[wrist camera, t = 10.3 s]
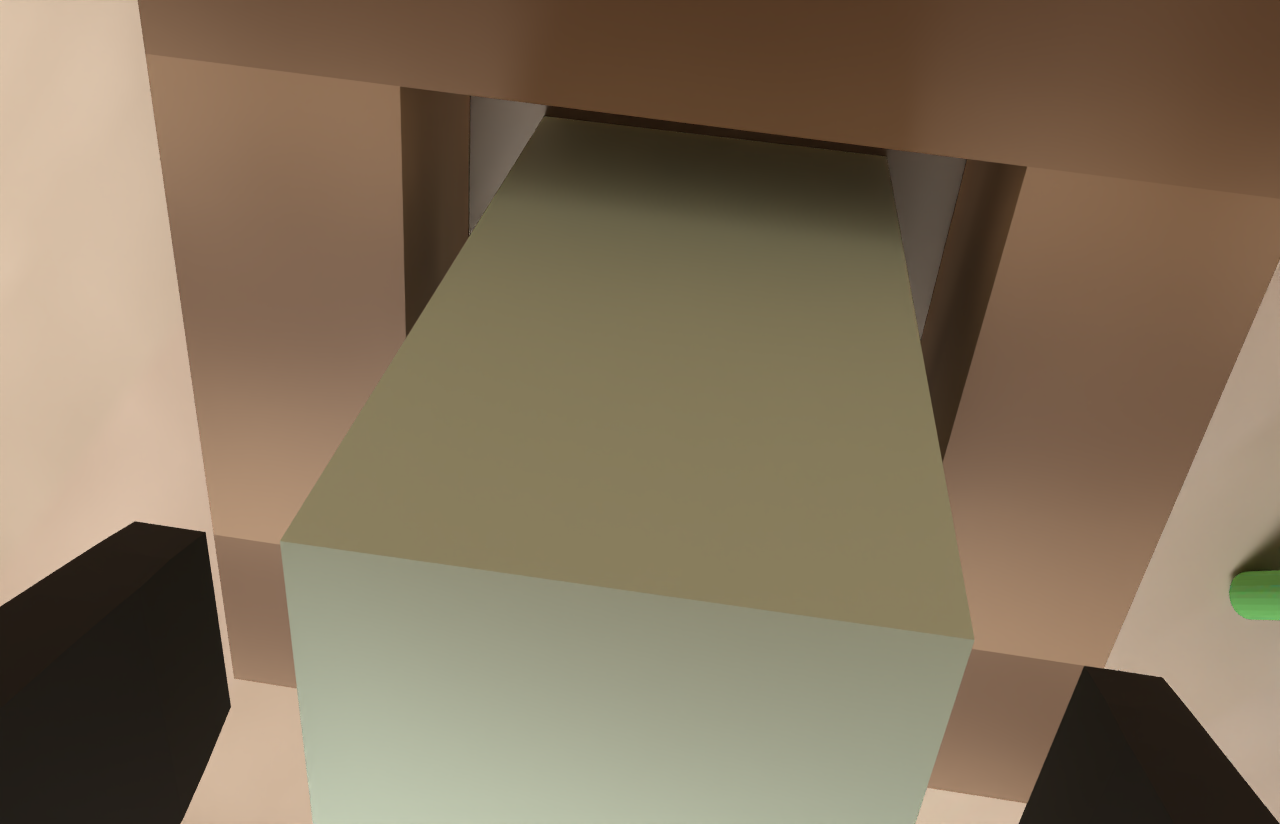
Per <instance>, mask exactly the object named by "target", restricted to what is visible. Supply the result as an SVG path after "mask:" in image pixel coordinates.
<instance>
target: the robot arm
mask: <svg viewBox="0 0 1280 824" xmlns="http://www.w3.org/2000/svg"><path fill="white" fill-rule="evenodd" d="M230 708H231V705H230V698H229V691H228V684H227V677H226V670H225V663H224V656H223V649H222V642H221V636H220V629H219V622H218V615H217V608H216V601H215V594H214V587H213V580H212V573H211V567H210V560H209V553H208V546H207V539H206V532H201V531H194V530H188V529H181V528H175V527H168V526H161V525H155V524H148V523H142V522H133V523H132V524H130V525H128V526H127V527H125V528H123V529H122V530H120V531H118V532H116V533H115V534H113V535H111V536H110V537H108V538H107V539H105V540H103V541H102V542H100V543H99V544H97V545H95V546H94V547H92V548H91V549H89V550H87V551H86V552H84V553H83V554H81V555H80V556H78V557H76V558H75V559H73V560H72V561H70V562H69V563H67V564H66V565H64V566H62V567H61V568H59V569H58V570H56V571H55V572H53V573H52V574H50V575H49V576H47V577H45V578H44V579H42V580H41V581H39V582H38V583H36V584H35V585H33V586H32V587H30V588H28V589H27V590H25V591H24V592H22V593H21V594H19V595H18V596H16V597H15V598H13V599H11V600H10V601H8V602H7V603H5V604H4V605H2V606H1V607H0V824H180V823H181V821H182V820H183V818H184V816H185V813H186V811H187V809H188V807H189V804H190V802H191V800H192V797H193V795H194V793H195V791H196V788H197V786H198V784H199V782H200V779H201V777H202V775H203V773H204V770H205V768H206V766H207V763H208V761H209V759H210V756H211V754H212V751H213V749H214V746H215V744H216V742H217V739H218V737H219V734H220V732H221V729H222V727H223V725H224V722H225V720H226V717H227V715H228V712H229V710H230ZM1019 824H1279V822H1278V821H1277V820H1276V819H1275V817H1274V816H1273V815H1272V814H1271V812H1270V811H1269V810H1268V809H1267V807H1266V806H1265V805H1264V804H1263V802H1262V801H1261V800H1260V799H1259V797H1258V796H1257V795H1256V794H1255V792H1254V791H1253V790H1252V789H1251V787H1250V786H1249V785H1248V784H1247V782H1246V781H1245V780H1244V779H1243V777H1242V776H1241V775H1240V774H1239V772H1238V771H1237V770H1236V768H1235V767H1234V766H1233V765H1232V763H1231V762H1230V761H1229V760H1228V758H1227V757H1226V756H1225V755H1224V753H1223V752H1222V751H1221V750H1220V748H1219V747H1218V746H1217V744H1216V743H1215V742H1214V741H1213V739H1212V738H1211V737H1210V736H1209V734H1208V733H1207V732H1206V731H1205V729H1204V728H1203V727H1202V726H1201V724H1200V723H1199V722H1198V720H1197V719H1196V718H1195V717H1194V715H1193V714H1192V713H1191V712H1190V710H1189V709H1188V708H1187V707H1186V705H1185V704H1184V703H1183V702H1182V701H1181V699H1180V698H1179V697H1178V696H1177V694H1176V693H1175V692H1174V691H1173V690H1172V688H1171V687H1170V686H1169V685H1168V684H1167V682H1166V681H1165V680H1164V679H1163V678H1162V677H1156V676H1149V675H1142V674H1136V673H1129V672H1123V671H1116V670H1109V669H1103V668H1096V667H1090V666H1084V668H1083V670H1082V672H1081V675H1080V677H1079V680H1078V682H1077V684H1076V687H1075V689H1074V692H1073V694H1072V697H1071V699H1070V701H1069V704H1068V706H1067V709H1066V711H1065V713H1064V716H1063V718H1062V721H1061V723H1060V725H1059V728H1058V730H1057V733H1056V735H1055V738H1054V740H1053V742H1052V745H1051V747H1050V750H1049V752H1048V754H1047V757H1046V759H1045V762H1044V764H1043V766H1042V769H1041V771H1040V774H1039V776H1038V779H1037V781H1036V783H1035V786H1034V788H1033V791H1032V793H1031V795H1030V798H1029V800H1028V803H1027V805H1026V807H1025V810H1024V812H1023V815H1022V817H1021V820H1020V822H1019Z"/></svg>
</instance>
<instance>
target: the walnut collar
mask: <svg viewBox="0 0 1280 824" xmlns="http://www.w3.org/2000/svg"><path fill="white" fill-rule="evenodd" d="M138 5H139V12H140V19H141V26H142V33H143V40H144V47H145V54H146V61H147V68H148V75H149V83H150V90H151V97H152V104H153V111H154V118H155V125H156V132H157V139H158V146H159V153H160V160H161V167H162V174H163V181H164V188H165V195H166V202H167V209H168V216H169V223H170V230H171V237H172V244H173V251H174V258H175V265H176V272H177V279H178V286H179V293H180V301H181V308H182V315H183V322H184V329H185V336H186V343H187V350H188V357H189V364H190V371H191V378H192V385H193V392H194V399H195V406H196V413H197V420H198V427H199V434H200V441H201V448H202V455H203V462H204V469H205V476H206V483H207V490H208V497H209V504H210V511H211V519H212V526H213V533H214V540H215V547H216V554H217V561H218V568H219V575H220V582H221V589H222V596H223V603H224V610H225V617H226V624H227V631H228V638H229V645H230V652H231V659H232V666H233V673H234V679H241V680H247V681H253V682H260V683H266V684H272V685H279V686H285V687H291V688H297V684H296V675H295V666H294V658H293V649H292V641H291V632H290V624H289V615H288V607H287V598H286V589H285V581H284V572H283V564H282V555H281V547H280V540H281V538H282V537H283V535H284V534H285V532H286V530H287V529H288V527H289V526H290V524H291V522H292V521H293V519H294V518H295V516H296V514H297V513H298V511H299V510H300V508H301V506H302V505H303V503H304V501H305V500H306V498H307V497H308V495H309V493H310V492H311V490H312V489H313V487H314V485H315V484H316V482H317V481H318V479H319V477H320V476H321V474H322V473H323V471H324V469H325V468H326V466H327V464H328V463H329V461H330V460H331V458H332V456H333V455H334V453H335V452H336V450H337V448H338V447H339V445H340V444H341V442H342V440H343V439H344V437H345V436H346V434H347V432H348V431H349V429H350V427H351V426H352V424H353V423H354V421H355V419H356V418H357V416H358V415H359V413H360V411H361V410H362V408H363V407H364V405H365V403H366V402H367V400H368V399H369V397H370V395H371V394H372V392H373V391H374V389H375V387H376V386H377V384H378V382H379V381H380V379H381V378H382V376H383V374H384V373H385V371H386V370H387V368H388V366H389V365H390V363H391V362H392V360H393V358H394V357H395V355H396V354H397V352H398V350H399V349H400V347H401V345H402V344H403V342H404V341H405V339H406V337H407V336H408V334H409V333H410V331H411V329H412V328H413V326H414V325H415V323H416V321H417V320H418V318H419V317H420V315H421V313H422V312H423V310H424V309H425V307H426V305H427V304H428V302H429V300H430V299H431V297H432V296H433V294H434V292H435V291H436V289H437V288H438V286H439V284H440V283H441V281H442V280H443V278H444V276H445V275H446V273H447V272H448V270H449V268H450V267H451V265H452V263H453V262H454V260H455V259H456V257H457V255H458V254H459V252H460V251H461V249H462V247H463V246H464V244H465V243H466V241H467V239H468V225H469V123H470V95H471V96H479V97H487V98H495V99H502V100H510V101H518V102H526V103H534V104H542V105H549V106H557V107H565V108H573V109H581V110H588V111H596V112H604V113H612V114H620V115H628V116H635V117H643V118H651V119H659V120H667V121H674V122H682V123H690V124H698V125H706V126H714V127H721V128H729V129H737V130H745V131H753V132H761V133H768V134H776V135H784V136H792V137H800V138H807V139H815V140H823V141H831V142H839V143H847V144H854V145H862V146H870V147H878V148H886V149H893V150H901V151H909V152H917V153H925V154H933V155H940V156H948V157H956V158H964V159H967V163H966V167H965V170H964V174H963V178H962V182H961V186H960V190H959V194H958V198H957V202H956V206H955V210H954V214H953V218H952V221H951V225H950V229H949V233H948V237H947V241H946V245H945V249H944V253H943V257H942V261H941V265H940V268H939V272H938V276H937V280H936V284H935V288H934V292H933V296H932V300H931V304H930V308H929V312H928V315H927V319H926V323H925V327H924V331H923V335H922V339H921V348H922V354H923V359H924V365H925V370H926V376H927V381H928V387H929V392H930V398H931V403H932V409H933V414H934V420H935V425H936V431H937V436H938V442H939V447H940V453H941V458H942V464H943V469H944V475H945V480H946V486H947V491H948V497H949V502H950V508H951V513H952V518H953V524H954V529H955V535H956V540H957V546H958V551H959V557H960V562H961V568H962V573H963V579H964V584H965V590H966V595H967V601H968V606H969V612H970V617H971V623H972V628H973V634H974V639H975V640H974V643H973V647H972V650H971V653H970V656H969V659H968V662H967V665H966V668H965V671H964V674H963V677H962V681H961V684H960V687H959V690H958V693H957V696H956V699H955V702H954V705H953V708H952V711H951V715H950V718H949V721H948V724H947V727H946V730H945V733H944V736H943V739H942V742H941V745H940V748H939V752H938V755H937V758H936V761H935V764H934V767H933V770H932V773H931V776H930V779H929V782H928V786H927V788H933V789H939V790H946V791H952V792H958V793H965V794H971V795H977V796H984V797H990V798H997V799H1003V800H1009V801H1016V802H1022V803H1028V800H1029V798H1030V795H1031V793H1032V791H1033V788H1034V786H1035V783H1036V781H1037V779H1038V776H1039V774H1040V771H1041V769H1042V766H1043V764H1044V762H1045V759H1046V757H1047V754H1048V752H1049V750H1050V747H1051V745H1052V742H1053V740H1054V738H1055V735H1056V733H1057V730H1058V728H1059V725H1060V723H1061V721H1062V718H1063V716H1064V713H1065V711H1066V709H1067V706H1068V704H1069V701H1070V699H1071V697H1072V694H1073V692H1074V689H1075V687H1076V684H1077V682H1078V680H1079V677H1080V675H1081V672H1082V670H1083V668H1084V666H1090V667H1096V668H1103V669H1104V666H1105V664H1106V662H1107V659H1108V657H1109V655H1110V652H1111V650H1112V648H1113V645H1114V643H1115V641H1116V638H1117V636H1118V634H1119V632H1120V629H1121V627H1122V625H1123V622H1124V620H1125V618H1126V615H1127V613H1128V611H1129V608H1130V606H1131V604H1132V601H1133V599H1134V597H1135V594H1136V592H1137V590H1138V587H1139V585H1140V583H1141V580H1142V578H1143V576H1144V573H1145V571H1146V569H1147V566H1148V564H1149V562H1150V559H1151V557H1152V555H1153V552H1154V550H1155V548H1156V546H1157V543H1158V541H1159V539H1160V536H1161V534H1162V532H1163V529H1164V527H1165V525H1166V522H1167V520H1168V518H1169V515H1170V513H1171V511H1172V508H1173V506H1174V504H1175V501H1176V499H1177V497H1178V494H1179V492H1180V490H1181V487H1182V485H1183V483H1184V480H1185V478H1186V476H1187V473H1188V471H1189V469H1190V466H1191V464H1192V462H1193V459H1194V457H1195V455H1196V453H1197V450H1198V448H1199V446H1200V443H1201V441H1202V439H1203V436H1204V434H1205V432H1206V429H1207V427H1208V425H1209V422H1210V420H1211V418H1212V415H1213V413H1214V411H1215V408H1216V406H1217V404H1218V401H1219V399H1220V397H1221V394H1222V392H1223V390H1224V387H1225V385H1226V383H1227V380H1228V378H1229V376H1230V373H1231V371H1232V369H1233V367H1234V364H1235V362H1236V360H1237V357H1238V355H1239V353H1240V350H1241V348H1242V346H1243V343H1244V341H1245V339H1246V336H1247V334H1248V332H1249V329H1250V327H1251V325H1252V322H1253V320H1254V318H1255V315H1256V313H1257V311H1258V308H1259V306H1260V304H1261V301H1262V299H1263V297H1264V294H1265V292H1266V290H1267V287H1268V285H1269V283H1270V281H1271V278H1272V276H1273V274H1274V271H1275V269H1276V267H1277V264H1278V262H1279V260H1280V0H138Z"/></svg>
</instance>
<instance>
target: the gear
mask: <svg viewBox="0 0 1280 824" xmlns="http://www.w3.org/2000/svg"><path fill="white" fill-rule="evenodd" d="M1229 596H1230V601H1231V604H1232V606H1233V608H1234V610H1235V611H1236V612H1237V613H1238V614H1239V615H1240V616H1242V617H1243V618H1246V619H1250V620H1280V570H1272V571H1246V572H1242V573H1239V574H1238V575H1237V576H1235V578H1234V579H1233V580H1232V583H1231V585H1230V590H1229Z"/></svg>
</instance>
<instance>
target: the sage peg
mask: <svg viewBox="0 0 1280 824" xmlns="http://www.w3.org/2000/svg"><path fill="white" fill-rule="evenodd" d="M280 547H281V555H282V564H283V572H284V581H285V589H286V598H287V607H288V615H289V624H290V632H291V641H292V649H293V658H294V666H295V675H296V684H297V692H298V701H299V709H300V718H301V726H302V735H303V744H304V752H305V761H306V769H307V778H308V786H309V795H310V803H311V812H312V821H313V824H915V823H916V820H917V816H918V813H919V810H920V807H921V804H922V801H923V798H924V795H925V792H926V789H927V786H928V782H929V779H930V776H931V773H932V770H933V767H934V764H935V761H936V758H937V755H938V752H939V748H940V745H941V742H942V739H943V736H944V733H945V730H946V727H947V724H948V721H949V718H950V715H951V711H952V708H953V705H954V702H955V699H956V696H957V693H958V690H959V687H960V684H961V681H962V677H963V674H964V671H965V668H966V665H967V662H968V659H969V656H970V653H971V650H972V647H973V643H974V640H975V639H974V634H973V628H972V623H971V617H970V612H969V606H968V601H967V595H966V590H965V584H964V579H963V573H962V568H961V562H960V557H959V551H958V546H957V540H956V535H955V529H954V524H953V518H952V513H951V508H950V502H949V497H948V491H947V486H946V480H945V475H944V469H943V464H942V458H941V453H940V447H939V442H938V436H937V431H936V425H935V420H934V414H933V409H932V403H931V398H930V392H929V387H928V381H927V376H926V370H925V365H924V359H923V354H922V348H921V343H920V337H919V332H918V326H917V321H916V315H915V310H914V304H913V299H912V293H911V288H910V282H909V277H908V271H907V266H906V260H905V255H904V249H903V244H902V238H901V233H900V227H899V222H898V216H897V211H896V205H895V200H894V194H893V189H892V184H891V178H890V173H889V167H888V162H887V156H880V155H871V154H863V153H854V152H846V151H837V150H829V149H820V148H812V147H803V146H795V145H786V144H778V143H769V142H761V141H752V140H744V139H735V138H727V137H718V136H710V135H701V134H693V133H684V132H676V131H667V130H659V129H650V128H642V127H633V126H625V125H616V124H608V123H599V122H591V121H582V120H574V119H565V118H557V117H548V116H544V117H543V119H542V120H541V122H540V124H539V125H538V127H537V128H536V130H535V132H534V133H533V135H532V136H531V138H530V140H529V141H528V143H527V144H526V146H525V148H524V149H523V151H522V153H521V154H520V156H519V157H518V159H517V161H516V162H515V164H514V165H513V167H512V169H511V170H510V172H509V173H508V175H507V177H506V178H505V180H504V181H503V183H502V185H501V186H500V188H499V190H498V191H497V193H496V194H495V196H494V198H493V199H492V201H491V202H490V204H489V206H488V207H487V209H486V210H485V212H484V214H483V215H482V217H481V218H480V220H479V222H478V223H477V225H476V227H475V228H474V230H473V231H472V233H471V235H470V236H469V238H468V239H467V241H466V243H465V244H464V246H463V247H462V249H461V251H460V252H459V254H458V255H457V257H456V259H455V260H454V262H453V263H452V265H451V267H450V268H449V270H448V272H447V273H446V275H445V276H444V278H443V280H442V281H441V283H440V284H439V286H438V288H437V289H436V291H435V292H434V294H433V296H432V297H431V299H430V300H429V302H428V304H427V305H426V307H425V309H424V310H423V312H422V313H421V315H420V317H419V318H418V320H417V321H416V323H415V325H414V326H413V328H412V329H411V331H410V333H409V334H408V336H407V337H406V339H405V341H404V342H403V344H402V345H401V347H400V349H399V350H398V352H397V354H396V355H395V357H394V358H393V360H392V362H391V363H390V365H389V366H388V368H387V370H386V371H385V373H384V374H383V376H382V378H381V379H380V381H379V382H378V384H377V386H376V387H375V389H374V391H373V392H372V394H371V395H370V397H369V399H368V400H367V402H366V403H365V405H364V407H363V408H362V410H361V411H360V413H359V415H358V416H357V418H356V419H355V421H354V423H353V424H352V426H351V427H350V429H349V431H348V432H347V434H346V436H345V437H344V439H343V440H342V442H341V444H340V445H339V447H338V448H337V450H336V452H335V453H334V455H333V456H332V458H331V460H330V461H329V463H328V464H327V466H326V468H325V469H324V471H323V473H322V474H321V476H320V477H319V479H318V481H317V482H316V484H315V485H314V487H313V489H312V490H311V492H310V493H309V495H308V497H307V498H306V500H305V501H304V503H303V505H302V506H301V508H300V510H299V511H298V513H297V514H296V516H295V518H294V519H293V521H292V522H291V524H290V526H289V527H288V529H287V530H286V532H285V534H284V535H283V537H282V538H281V540H280Z"/></svg>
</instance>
